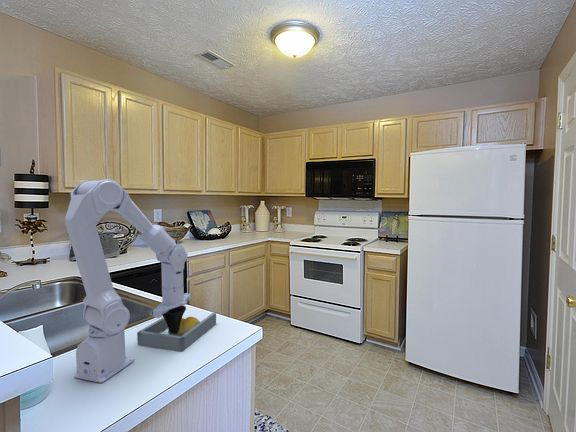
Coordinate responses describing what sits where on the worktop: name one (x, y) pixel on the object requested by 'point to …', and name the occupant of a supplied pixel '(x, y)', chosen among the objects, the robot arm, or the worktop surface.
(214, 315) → the open-side box
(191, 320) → the bread roll
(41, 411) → the worktop surface
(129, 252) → the worktop surface
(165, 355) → the worktop surface
